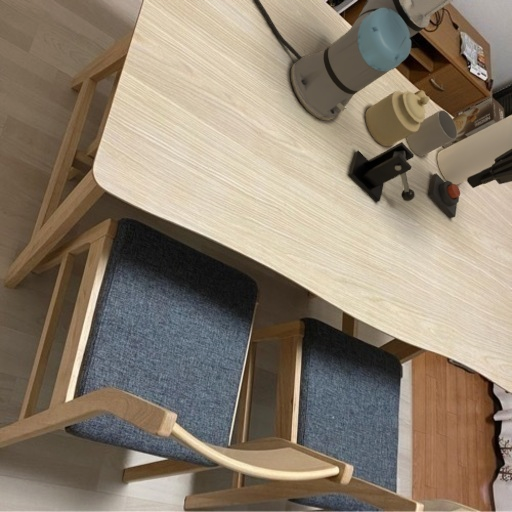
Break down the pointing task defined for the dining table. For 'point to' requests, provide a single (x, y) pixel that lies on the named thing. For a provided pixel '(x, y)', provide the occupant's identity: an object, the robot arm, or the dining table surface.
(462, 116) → the coffee box
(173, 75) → the dining table surface
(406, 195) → the lever
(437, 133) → the cup
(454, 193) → the button
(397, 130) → the sugar bowl
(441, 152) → the tall pillar cylinder
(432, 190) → the button block
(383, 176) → the bracket
